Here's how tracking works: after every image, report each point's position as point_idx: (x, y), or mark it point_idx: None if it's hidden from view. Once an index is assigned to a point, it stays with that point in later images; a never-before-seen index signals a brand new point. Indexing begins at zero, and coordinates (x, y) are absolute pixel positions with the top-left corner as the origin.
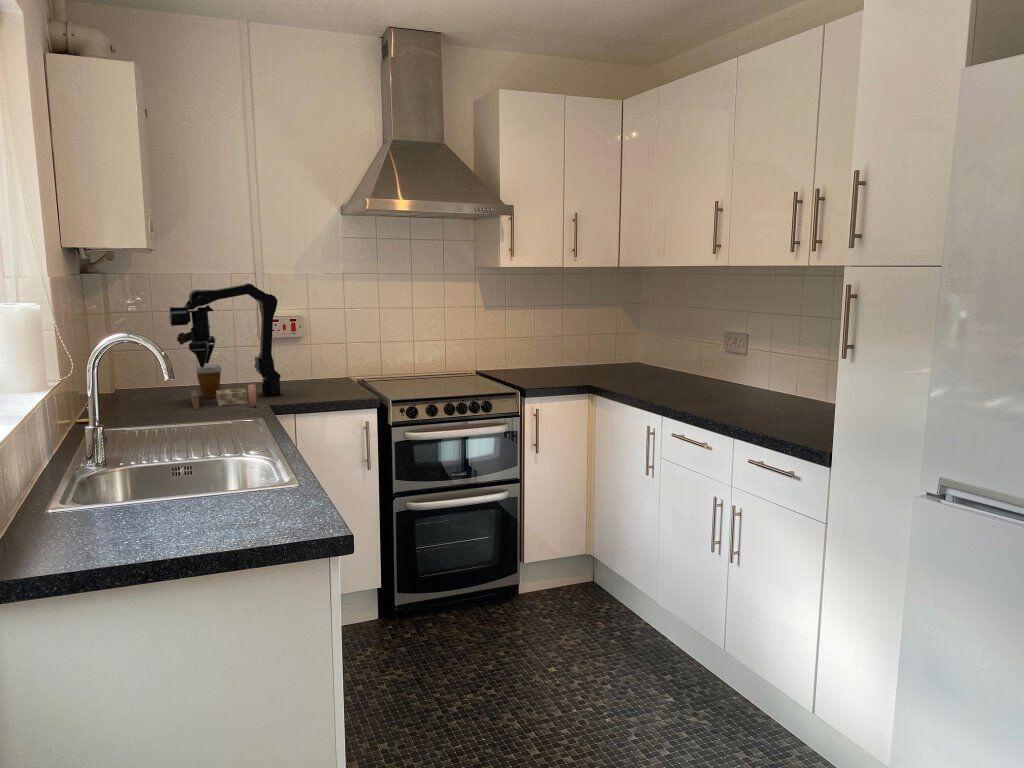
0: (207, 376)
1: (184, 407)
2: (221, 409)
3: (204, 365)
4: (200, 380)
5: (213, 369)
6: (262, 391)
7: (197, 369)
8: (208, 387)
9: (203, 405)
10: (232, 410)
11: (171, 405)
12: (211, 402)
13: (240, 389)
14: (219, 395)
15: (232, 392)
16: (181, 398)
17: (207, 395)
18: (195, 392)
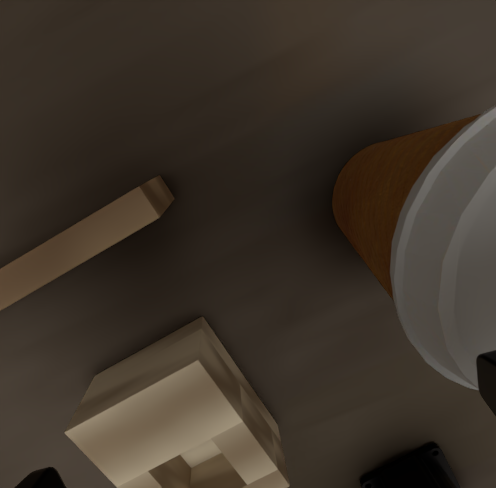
0: (382, 271)
1: (16, 191)
2: (18, 420)
3: None
4: (385, 174)
5: (449, 367)
6: (388, 486)
7: (472, 154)
8: (351, 234)
9: (101, 281)
10: (9, 476)
11: (59, 59)
12: (196, 287)
13: (249, 483)
14: (73, 429)
15: (141, 483)
16: (320, 7)
17: (336, 205)
18: (32, 281)
